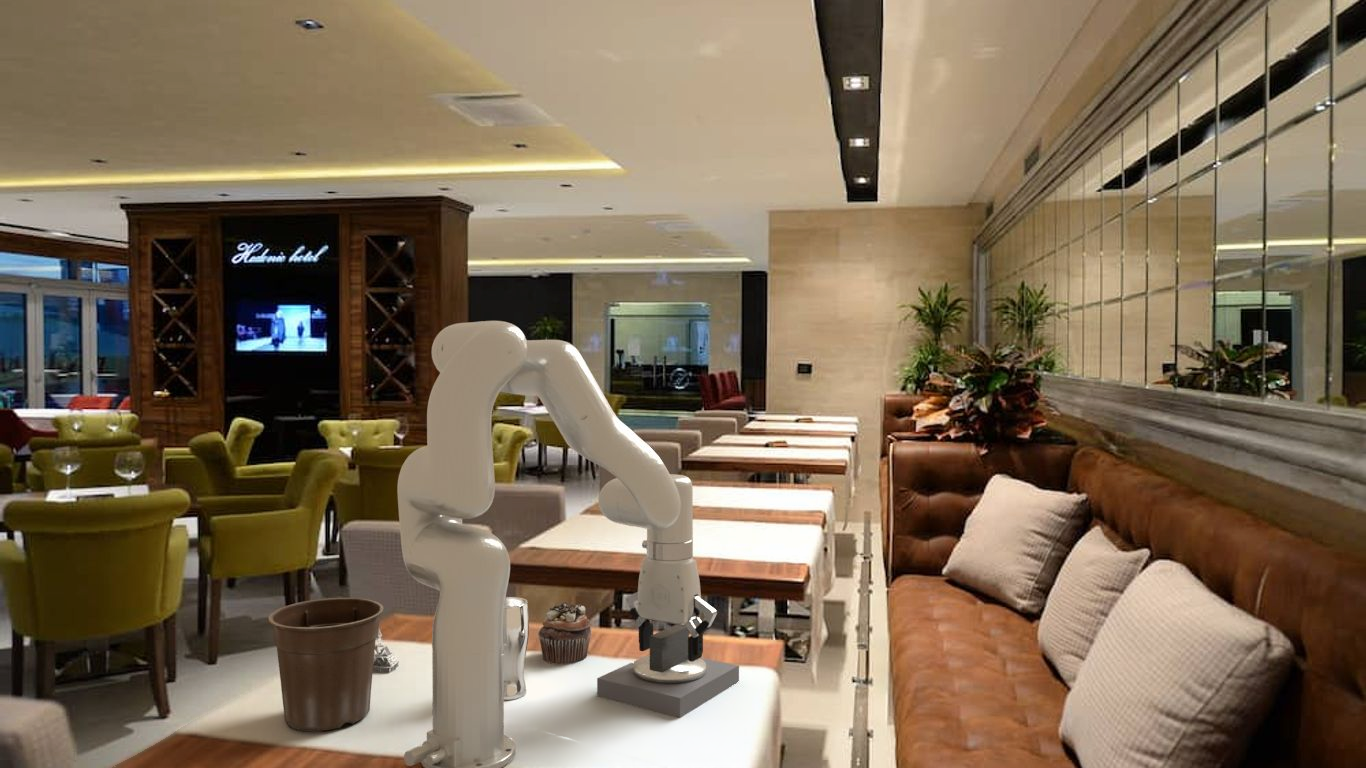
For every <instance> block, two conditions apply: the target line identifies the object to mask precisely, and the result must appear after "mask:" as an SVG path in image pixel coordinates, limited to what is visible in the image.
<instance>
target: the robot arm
mask: <svg viewBox="0 0 1366 768" xmlns="http://www.w3.org/2000/svg"><path fill="white" fill-rule="evenodd" d="M431 359H432V362H433V364H434V366H435V368H436V370H437V371H438V372H439V375H438V376H437V377H436V380H435V382H434V383H433V386H432V388H431V391H430V394H429V399H428V402H427V410H426V437H427V438H426V442H427V445H425V446H422V447H419V448H417V449H416V450H414V451H413V452H411V454H409V455H408V456H407V458H406V459H405V461H404V463H403V464H402V466H401V468H400V471H399V474H398V479H397V490H396V491H397V504H398V505H397V506H398V518H399V521H398V522H399V532H400V545H401V553H402V559H403V562H404V565H405V568H406V570H407V572H408V573H409V575H410V576H411V577H412V578H413V579H414V581H416V582H418V583H420V584H422V585H424V586H427V587H430V588H432V589H434V590H437V591H439V599H438V603H437V606H436V610H435V613H434V616H433V622H432V631H431V636H432V637H431V648H432V651H431V652H432V668H431V669H432V729H431V730H428V731H427V732H426V740H425V741H423V742H422V743H421V744H422V745H420V746H416V747H414V748H411V749H409V750H407V751H405V752H404V754H403V759H404V762H405V764H406V766H408V767H412V766H415V765H416V764H418V763H421V765H422V767H423V768H503V767H505V766H506V765H508V764H509V763H510V762H511V761H512V760H513V759H514V758H515V755H516V744H515V742H514V740H513V739H511V738H510V737H509V736H507V735H505V730H504V727H505V726H504V725H505V717H504V716H505V710H504V709H505V707H504V705H505V703H504V701H505V700H504V642H503V630H504V606H505V598H506V597H507V591H508V585H509V579H510V573H511V559H510V555H509V551H508V550H507V549H508V548H507V547H506V546H505V544H504V543H503V542H502V540H500V538H498V537H497V536H496V535H495V534H493V533H492V532H490V531H487V530H485V529H483V528H479V527H475V526H472V525H467V524H463V520H465V519H468V520H469V519H473V518H474V519H475V518H477V517H480V516H482V515H484V513H486V512H487V511H488V510H489V508H490V507H491V506H492V504H493V501H494V498H495V494H496V493H495V492H496V491H495V490H496V480H495V479H496V478H495V465H494V464H495V463H494V462H495V461H494V450H493V439H492V437H493V436H492V417H493V408H494V405H495V402H496V400H497V397H498V396H499V394H500V393H506V394H512V395H520V396H529V397H530V396H531V397H532V396H533V397H534V396H535V397H538V398H539V400H540V402H541V403H542V405H543V406H544V408H545V409H546V411H547V413H548V415H549V416H550V418H551V420H552V421H553V423H554V424H555V426H556V428H557V429H558V431H559V433H560V434H561V436H562V438H563V440H564V441H565V443H566V444H567V446H568V447H569V448H570V449H571V450H573V451H574V452H576V453H577V454H579V455H580V456H581V457H583V458H585V459H587V460H588V461H590V462H592V463H593V464H596V465H597V466H599V467H601V468H603V469H605V470H606V471H608V472H609V473H611V474H612V475H613V476H614V477H615V478H613V479H611V480H609V481H608V482H607V483H605V484H604V485H603V487H602V488H601V490H600V491H599V493H598V494H599V495H598V508H599V510H600V512H601V513H602V515H603V516H604V517H605V518H606V519H608V520H609V521H611V522H613V523H615V524H620V525H624V526H629V527H636V528H641V529H646V539H645V540H642V543H641V547H642V548H643V549H646V556H643V558H642V560H641V565H640V570H639V577H638V585H637V592H634V593H632V594H630V595H628V596H626V597H625V602H626V604H627V607H628V609H629V613H630V615H631V617H632V619H634V621H635V622H634V624H635V626H636V627H638V643H639V644H638V648H639V652H645V651H647V650H650V636H651V635H653V634H654V625H653V624H654V623H653V622H651V621H655V622H660V623H666V624H671V625H683V626H686V627H687V629H688V630H689V638H688V660H689V661H691V662H693V661H695V660H697V659H699V658H702V656H703V653H704V634H706V633H707V631H708V630H709V628H711V627H712V626H713V622H714V620H715V619H716V617H717V614H718V610H716V608H714V607H713V606H712V605H710V604H709V603H708V602H706V601H705V600H704V599H702V595H701V583H700V576H699V568H698V564H697V560H696V559H694V558H693V557H694V551H693V550H694V549H693V548H694V547H693V545H694V544H693V541H694V540H693V539H694V537H693V535H694V534H693V533H694V532H693V531H694V528H693V527H694V526H693V522H694V519H693V517H694V516H693V514H694V512H693V509H694V507H693V505H694V504H693V503H694V502H693V498H694V497H693V482H692V480H691V478H689V477H688V476H686V475H683V474H676V473H675V474H671V473H670V472H669V470H668V469H667V467H666V464H664V462H663V460H662V459H661V457H660V456H659V455H658V454H657V453H656V452H655V451H654V450H653V449H652V448H651V446H650V445H648V443H646V442H645V441H644V440H643V439H642V438H641V437H640V436H639V435H638V434H636V432H634V431H633V430H632V429H631V428H630V427H629V426H627V424H625V423H624V422H623V421H621V420H620V419H619V417H618V416H617V415H616V413H615V412H614V410H613V409H612V406H611V405H610V404H609V402H608V399H607V398H606V396H605V393H603V391H602V389H601V388H600V386H599V383H598V382H597V380H596V379H595V377H594V375H593V374H592V372H591V370H590V367H589V366H588V365H587V363H586V361H585V358H583V356H582V354H581V353H580V351H579V350H578V349H577V348H576V347H575V346H574V345H573V344H571V342H568V341H564V340H560V339H536V340H535V339H531V340H528V339H527V338H526V336H525V334H524V332H523V331H522V330H521V329H520V328H519V327H518V326H516V325H515V324H513V323H510V322H507V321H503V320H485V321H483V320H481V321H473V322H470V321H469V322H459V323H454V324H450V325H448V326H446V327H444V328H443V329H442V330H440V331H439V333H438V334H437V335H436V336H435V338H434V340H433V343H432V346H431ZM701 613H702V614H703V615H704V618H703V620H701Z"/></svg>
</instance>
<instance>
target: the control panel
mask: <svg viewBox="0 0 1366 768" xmlns="http://www.w3.org/2000/svg"><path fill="white" fill-rule="evenodd" d="M648 655H650V653H649V654H647V655H646V656H648ZM700 659H702V660H704V661H705V663H706V673H705V674H704V675H703V676H702V677H700V678H698V679H695V680H692V681H687V682H681V683H658V682H651V681H647V680H643V679H641V678H639V677H637V676H636V675H635V674H634V673H633V663H634V662H635V661H636V660H634V661H632V662H630V663H628V664H626V665H623V666H621V667H618V668H617V669H615V670H612V671H610V672H608V673H605V674H603V675H601V676H599V677H597V678H596V683H597V684H596V686H597V688H596V690H597V691H596V694H597V695H596V696H597V697H598V698H601V699H606V700H609V701H614V702H618V703H620V704H625V705H629V706H633V707H637V708H642V709H645V710H649V711H653V712H656V713H661V714H664V715H669V716H672V717H676V718H683V716H685V715H688V714H689V713H690V712H692V711H694V710H695V709H697V708H699V707H700V706H702V705H703V704H705V703H707V702H708V701H710V700H712V699H714V698H715V697H717V696H719V695H720V694H722V693H723V692H724V691H727V690H729V687H730V688H732V687H733V686H734V684H735V685H736V684H738V683H739V682H740V665H738V664H733V663H728V662H726V661H725V662H724V661H718V660H715V659H709V658H705V657H704V658H703V657H701V658H700ZM738 681H739V682H738ZM737 682H738V683H737ZM732 685H733V686H732Z"/></svg>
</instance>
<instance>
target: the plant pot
mask: <svg viewBox="0 0 1366 768" xmlns="http://www.w3.org/2000/svg"><path fill="white" fill-rule="evenodd" d="M383 613H384V606H383V604H382V603H380V602H378V601H374V600H372V599H367V598H357V597H335V598H333V597H332V598H330V597H329V598H320V599H314V600H305V601H301V602H296V603H293V604H289V605H284V606H282V607H280V608H278V609H276V610H275V611H273V612H272V613H270V614H269V616H268V623H269V624H270V625H271V626H272V627H271V628H272V634H273V635H272V636H273V644H274V646H275V647H276V651H277V663H278V670H279V678H280V687H281V688H280V689H281V698H282V705H283V720H284V722H285V725H290V726H291V728H292V729H295V730H300V731H301V730H302V731H306V732H317V731H318V732H320V731H327V730H333V729H334V730H335V729H339V728H341V727H342V726H343V725H344V724H348V723H350V724H352V725H353V724H355V723H358V722H359V721H360V720H362V719H363V718H365V717H367V715H368V714H369V712H370V710H371V695H372V694H371V693H372V683H373V673H374V672H373V662H374V652H376V651H375V644H376V638H378V637H377V635H378V631H379V630H380V628H379V627H380V619H381V617H380V616H381V615H382V614H383Z"/></svg>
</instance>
